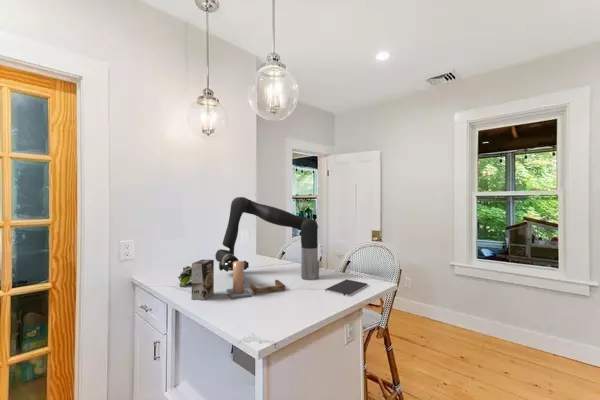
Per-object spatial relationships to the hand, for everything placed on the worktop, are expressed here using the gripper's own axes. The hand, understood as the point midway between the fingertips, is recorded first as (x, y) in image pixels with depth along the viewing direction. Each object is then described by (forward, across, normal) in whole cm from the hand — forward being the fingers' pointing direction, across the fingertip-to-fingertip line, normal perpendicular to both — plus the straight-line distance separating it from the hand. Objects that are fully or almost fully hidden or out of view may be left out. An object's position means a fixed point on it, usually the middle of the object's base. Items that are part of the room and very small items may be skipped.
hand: (236, 268), depth 138 cm
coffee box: (+1, -16, +11) cm, 19 cm away
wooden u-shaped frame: (+2, +14, +11) cm, 18 cm away
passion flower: (-22, -20, +11) cm, 32 cm away
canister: (+4, 0, +10) cm, 11 cm away
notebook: (+18, +52, +12) cm, 56 cm away
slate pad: (+4, 0, +11) cm, 12 cm away
